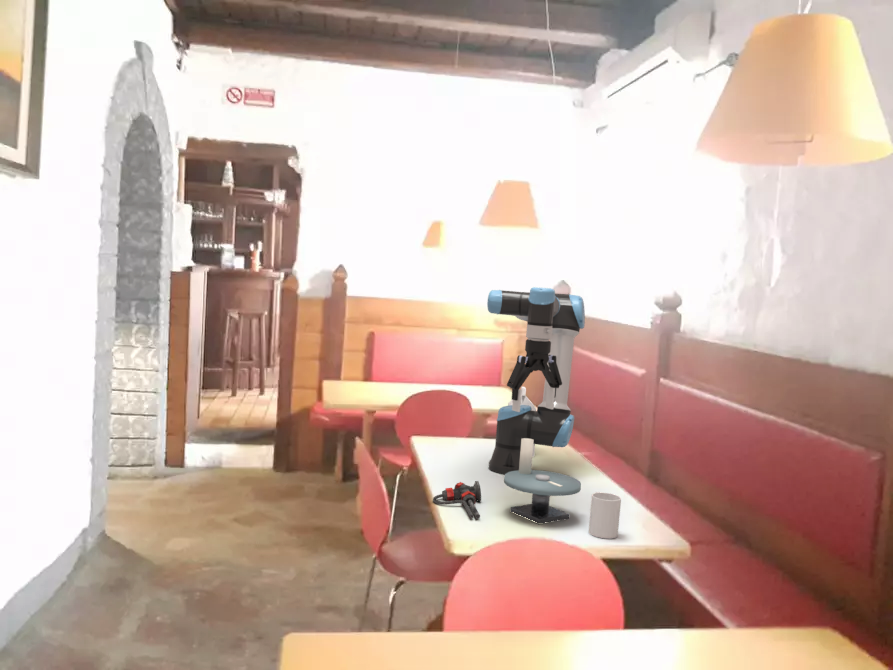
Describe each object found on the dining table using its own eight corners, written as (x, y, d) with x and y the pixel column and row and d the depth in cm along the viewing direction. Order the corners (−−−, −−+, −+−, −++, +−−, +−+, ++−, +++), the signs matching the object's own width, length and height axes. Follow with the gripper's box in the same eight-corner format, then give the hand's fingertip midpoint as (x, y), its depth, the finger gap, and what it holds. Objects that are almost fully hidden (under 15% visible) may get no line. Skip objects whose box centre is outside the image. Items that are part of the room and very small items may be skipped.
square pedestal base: (510, 512, 225) (512, 482, 225) (540, 507, 233) (542, 478, 232) (538, 524, 216) (541, 493, 215) (568, 518, 223) (571, 488, 222)
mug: (622, 539, 208) (625, 501, 207) (593, 538, 207) (597, 500, 206) (606, 524, 220) (609, 488, 219) (579, 524, 219) (582, 487, 218)
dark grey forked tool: (429, 499, 240) (477, 494, 242) (441, 531, 214) (494, 524, 216) (428, 480, 239) (475, 474, 241) (440, 509, 213) (493, 502, 215)
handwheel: (596, 491, 221) (600, 451, 220) (537, 499, 208) (541, 456, 208) (545, 472, 239) (548, 435, 238) (488, 478, 227) (491, 439, 226)
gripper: (515, 341, 220) (509, 414, 222) (577, 340, 235) (571, 409, 237) (498, 338, 226) (493, 409, 228) (559, 338, 241) (554, 405, 243)
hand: (533, 409), depth 233 cm, fingers open, 13 cm apart
